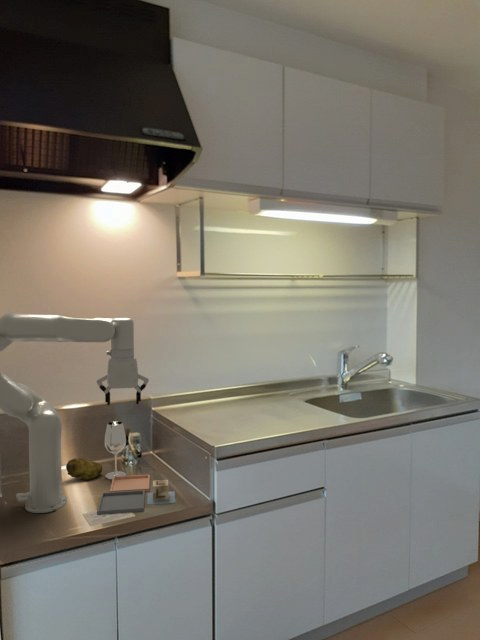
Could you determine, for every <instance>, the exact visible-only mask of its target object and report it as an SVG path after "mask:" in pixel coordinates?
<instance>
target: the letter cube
mask: <svg viewBox="0 0 480 640" xmlns="http://www.w3.org/2000/svg"><path fill="white" fill-rule="evenodd" d="M168 492H169V480H168V479H159V480H158V479H157V480H152V493H153V501H167V500H169V493H168Z"/></svg>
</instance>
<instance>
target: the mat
mask: <svg viewBox="0 0 480 640" xmlns="http://www.w3.org/2000/svg"><path fill="white" fill-rule="evenodd" d="M168 493H169V500H167V501H153V492H147V496H146V497H147V498H146V499H147V503H146V504H147V506H150V505H164V504H165V505H166V504H176V493H175V491H174V490H173V491H168Z"/></svg>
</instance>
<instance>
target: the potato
mask: <svg viewBox="0 0 480 640" xmlns="http://www.w3.org/2000/svg"><path fill="white" fill-rule="evenodd" d="M65 469H66V471H67V475H69V476H71V477H72V478H74V479H80V480H84V481H85V480H87V481H88V480H92V479H95V478H97V477H99V476H100V475H101V474H102V472H103V465H102V464H101V463H99V462H95V461H91V460H88V459H85V458H81V457H75V458H72V459H70V460H68V461H67V463H66V465H65Z"/></svg>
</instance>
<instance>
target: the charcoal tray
mask: <svg viewBox="0 0 480 640" xmlns="http://www.w3.org/2000/svg"><path fill="white" fill-rule="evenodd" d="M145 495H146V492H145V490H137V491H121V492H110V491H109V492H108V491H107V492H101V495H100V499H99V503H98V507H97V511H96V514H97V515H109V514H111V515H112V514H123V513H125V514H126V513H137V512H139V513H140V512H144V510H145Z"/></svg>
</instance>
